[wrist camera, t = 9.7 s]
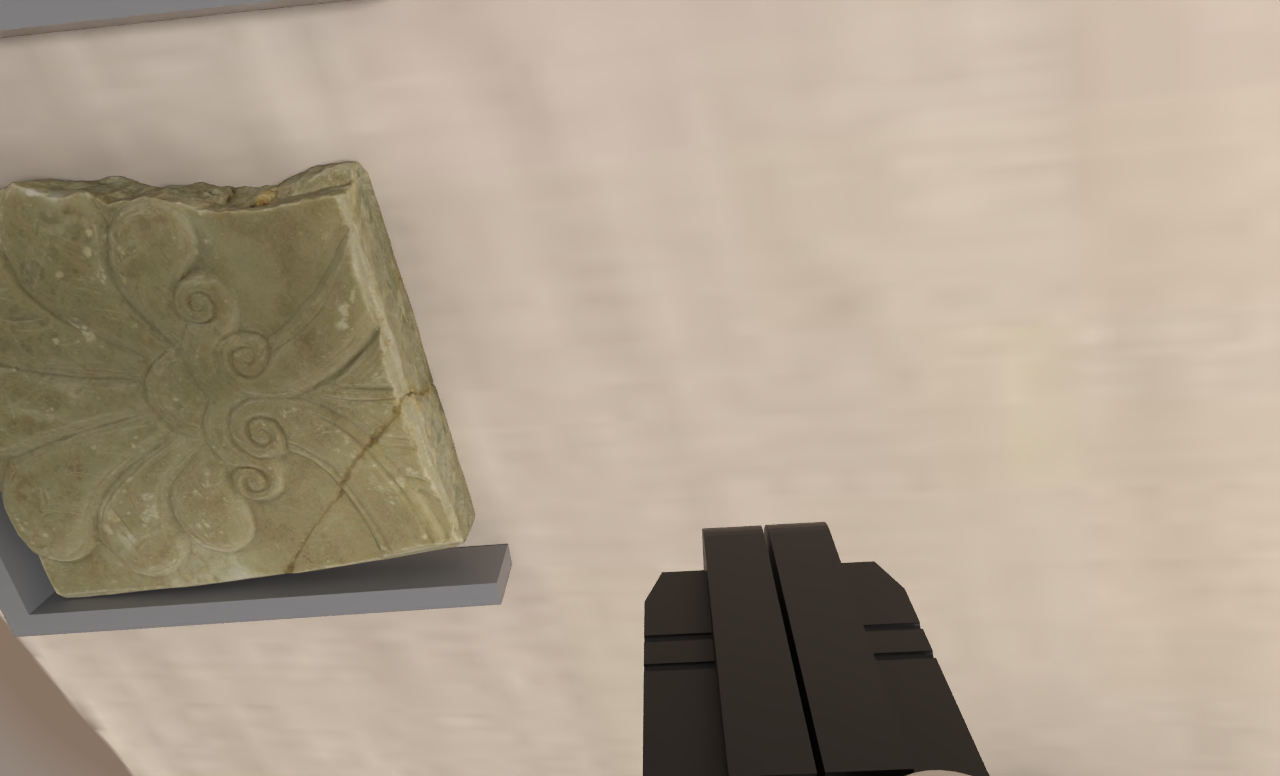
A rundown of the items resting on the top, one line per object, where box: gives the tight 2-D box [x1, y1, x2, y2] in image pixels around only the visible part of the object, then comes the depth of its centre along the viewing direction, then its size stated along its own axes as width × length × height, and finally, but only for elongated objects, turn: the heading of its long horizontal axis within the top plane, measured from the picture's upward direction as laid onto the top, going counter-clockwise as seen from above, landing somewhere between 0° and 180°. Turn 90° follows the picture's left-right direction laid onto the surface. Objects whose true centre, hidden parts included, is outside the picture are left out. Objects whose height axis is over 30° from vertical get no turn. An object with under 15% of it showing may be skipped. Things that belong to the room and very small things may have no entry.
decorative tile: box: [0, 162, 475, 598], centre depth 34 cm, size 19×20×4 cm
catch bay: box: [0, 0, 512, 637], centre depth 33 cm, size 26×23×3 cm
